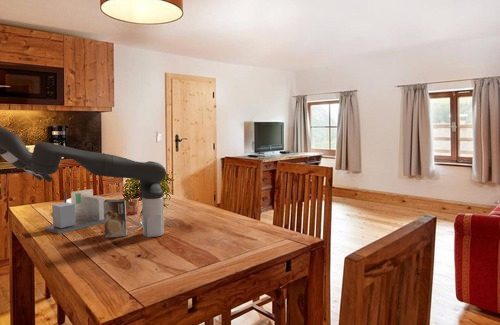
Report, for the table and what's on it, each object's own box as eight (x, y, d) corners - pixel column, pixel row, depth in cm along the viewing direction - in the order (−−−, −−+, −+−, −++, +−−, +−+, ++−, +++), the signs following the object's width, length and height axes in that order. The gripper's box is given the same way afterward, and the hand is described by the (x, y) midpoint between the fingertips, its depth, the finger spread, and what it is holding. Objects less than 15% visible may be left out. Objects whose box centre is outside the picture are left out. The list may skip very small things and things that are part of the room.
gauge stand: (58, 234, 158) (56, 199, 157) (45, 229, 165) (43, 196, 164) (106, 222, 178) (105, 191, 176) (92, 218, 185) (91, 189, 183)
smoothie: (120, 214, 195) (119, 178, 193) (132, 211, 202) (131, 176, 200) (131, 216, 191) (130, 180, 189) (142, 213, 198) (142, 178, 196)
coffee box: (127, 232, 163) (126, 198, 161) (126, 236, 156) (125, 201, 155) (106, 233, 160) (105, 199, 159) (104, 238, 154) (103, 202, 152)
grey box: (60, 228, 162) (59, 196, 160) (52, 225, 166) (50, 194, 164) (75, 224, 167) (74, 193, 166) (67, 222, 172) (65, 192, 170)
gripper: (2, 161, 149) (32, 184, 160) (17, 163, 141) (48, 188, 152) (15, 148, 153) (44, 172, 164) (30, 150, 145) (60, 174, 156)
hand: (46, 179), depth 158 cm, fingers open, 7 cm apart
